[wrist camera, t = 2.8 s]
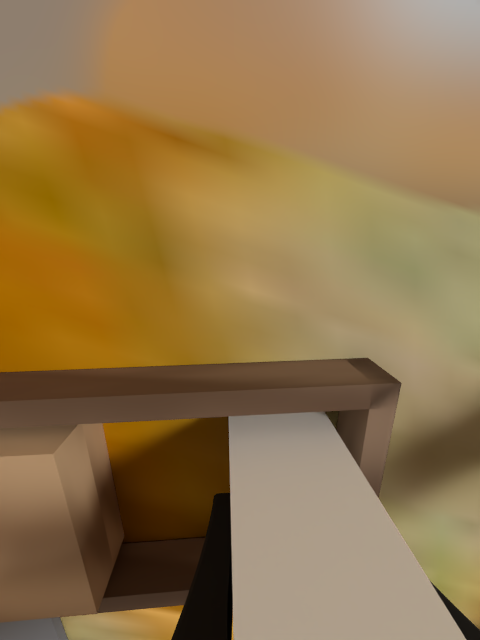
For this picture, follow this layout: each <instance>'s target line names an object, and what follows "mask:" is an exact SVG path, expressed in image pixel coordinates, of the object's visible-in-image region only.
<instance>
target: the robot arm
mask: <svg viewBox="0 0 480 640" xmlns="http://www.w3.org/2000/svg"><path fill="white" fill-rule="evenodd" d="M430 582H431V581H430ZM431 584H432V585H433V583H432V582H431ZM433 587H434V588H435V590H436V592H437V593H438V595H439V597H440V598H441V600H442V601H443V603H444V605H445V606H446V608H447V609H448V611H449V613H450V614H451V616H452V617H453V619H454V621H455V622H456V624H457V625H458V627H459V629H460V630H461V632H462V634H463V635H464V637H465V638H466V640H480V630H479V629H478V628H477V627H476V626H475V625H474V624H473V623H472V622H471V621H470V620H469V619H468V618H467V617H466V616H464V615H463V614H462V613H461V612H460V611H459V610H458V609H457V608H456V607H455V606H454V605H453V604H452V603H451V602H450V601H449V600H448V599H447V598H446V597H445V596H444V595H443V594H442V593H441V592H440V591H439V590H438V589H437V588H436V587H435V586H434V585H433ZM232 609H233V589H232V546H231V503H230V493H219V494H216V495H214V499H213V506H212V512H211V517H210V521H209V526H208V530H207V534H206V538H205V541H204V545H203V548H202V552H201V555H200V559H199V562H198V565H197V569H196V572H195V575H194V578H193V581H192V584H191V587H190V590H189V593H188V596H187V599H186V602H185V604H184V607H183V610H182V613H181V615H180V618H179V621H178V624H177V626H176V629H175V632H174V634H173V637H172V639H171V640H231V638H232Z"/></svg>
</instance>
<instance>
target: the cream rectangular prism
mask: <svg viewBox="0 0 480 640" xmlns="http://www.w3.org/2000/svg"><path fill="white" fill-rule="evenodd" d="M229 460H230V503H231V546H232V589H233V633H234V640H466V638H465V637H464V635H463V634H462V632H461V630H460V629H459V627H458V625H457V624H456V622H455V621H454V619H453V617H452V616H451V614H450V613H449V611H448V609H447V608H446V606H445V605H444V603H443V601H442V600H441V598H440V597H439V595H438V593H437V592H436V590H435V588H434V587H433V585H432V584H431V582H430V580H429V579H428V577H427V576H426V574H425V572H424V571H423V569H422V568H421V566H420V564H419V563H418V561H417V560H416V558H415V556H414V555H413V553H412V552H411V550H410V548H409V547H408V545H407V543H406V542H405V540H404V539H403V537H402V535H401V534H400V532H399V531H398V529H397V527H396V526H395V524H394V523H393V521H392V519H391V518H390V516H389V515H388V513H387V511H386V510H385V508H384V507H383V505H382V503H381V502H380V500H379V498H378V497H377V495H376V494H375V492H374V490H373V489H372V487H371V486H370V484H369V482H368V481H367V479H366V478H365V476H364V474H363V473H362V471H361V470H360V468H359V466H358V465H357V463H356V461H355V460H354V458H353V457H352V455H351V453H350V452H349V450H348V449H347V447H346V445H345V444H344V442H343V441H342V439H341V437H340V436H339V434H338V433H337V431H336V429H335V428H334V426H333V425H332V423H331V421H330V420H329V418H328V416H327V415H326V413H325V412H306V413H286V414H267V415H248V416H229Z"/></svg>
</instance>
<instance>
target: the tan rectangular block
mask: <svg viewBox="0 0 480 640" xmlns="http://www.w3.org/2000/svg"><path fill="white" fill-rule="evenodd" d="M123 539H124V531H123V526H122V521H121V516H120V511H119V506H118V501H117V496H116V490H115V485H114V480H113V475H112V470H111V465H110V460H109V455H108V450H107V445H106V440H105V435H104V430H103V425H102V423H94V424H75V425H56V426H37V427H18V428H0V623H1V622H12V621H23V620H33V619H44V618H55V617H66V616H77V615H88V614H97V613H98V610H99V607H100V604H101V601H102V599H103V596H104V593H105V590H106V587H107V584H108V581H109V579H110V576H111V573H112V570H113V567H114V564H115V562H116V559H117V556H118V553H119V550H120V547H121V544H122V542H123Z"/></svg>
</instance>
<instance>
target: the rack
mask: <svg viewBox="0 0 480 640" xmlns="http://www.w3.org/2000/svg"><path fill="white" fill-rule="evenodd" d="M400 387H401V382H399V381H398V380H397V379H395V378H394V377H393V376H391V375H390V374H389V373H387V372H386V371H385V370H383V369H382V368H381V367H379V366H378V365H377V364H375V363H374V362H373V361H371V360H370V359H369V358H358V359H332V360H307V361H282V362H257V363H232V364H206V365H181V366H156V367H131V368H105V369H80V370H55V371H30V372H5V373H0V428H18V427H37V426H56V425H75V424H94V423H114V422H133V421H152V420H171V419H190V418H210V417H229V416H248V415H267V414H286V413H306V412H325V411H339V414H338V422H337V433H338V434H339V436H340V437H341V439H342V441H343V442H344V444H345V445H346V447H347V449H348V450H349V452H350V453H351V455H352V457H353V458H354V460H355V461H356V463H357V465H358V466H359V468H360V470H361V471H362V473H363V474H364V476H365V478H366V479H367V481H368V482H369V484H370V486H371V487H372V489H373V490H374V492H375V494H376V495H377V497H378V498H379V493H380V488H381V483H382V478H383V473H384V468H385V463H386V458H387V453H388V448H389V443H390V438H391V433H392V428H393V423H394V418H395V413H396V407H397V402H398V397H399V392H400ZM205 538H206V537H202V538H190V539H177V540H165V541H152V542H140V543H127V544H121V547H120V550H119V553H118V556H117V559H116V562H115V564H114V567H113V570H112V573H111V576H110V579H109V581H108V584H107V587H106V590H105V593H104V596H103V599H102V601H101V604H100V607H99V610H98V613H104V612H115V611H125V610H136V609H146V608H157V607H167V606H178V605H184V604H185V602H186V599H187V596H188V593H189V590H190V587H191V584H192V581H193V578H194V575H195V572H196V569H197V565H198V562H199V559H200V555H201V552H202V548H203V545H204V541H205Z"/></svg>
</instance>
